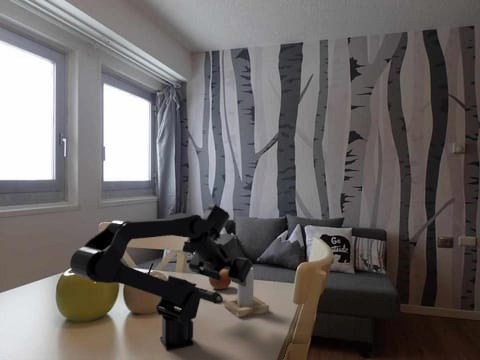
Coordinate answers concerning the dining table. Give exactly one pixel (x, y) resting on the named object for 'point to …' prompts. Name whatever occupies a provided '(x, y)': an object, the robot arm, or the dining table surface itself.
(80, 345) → the dining table surface
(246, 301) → the beverage can
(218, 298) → the electric trimmer
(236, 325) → the dining table surface
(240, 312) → the socket block
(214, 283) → the apple
